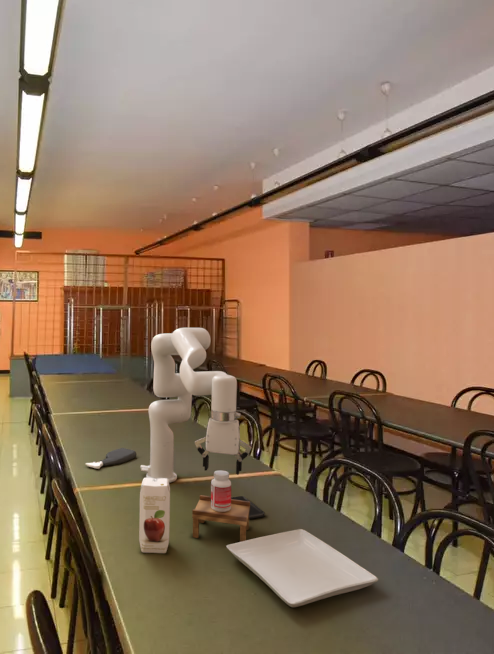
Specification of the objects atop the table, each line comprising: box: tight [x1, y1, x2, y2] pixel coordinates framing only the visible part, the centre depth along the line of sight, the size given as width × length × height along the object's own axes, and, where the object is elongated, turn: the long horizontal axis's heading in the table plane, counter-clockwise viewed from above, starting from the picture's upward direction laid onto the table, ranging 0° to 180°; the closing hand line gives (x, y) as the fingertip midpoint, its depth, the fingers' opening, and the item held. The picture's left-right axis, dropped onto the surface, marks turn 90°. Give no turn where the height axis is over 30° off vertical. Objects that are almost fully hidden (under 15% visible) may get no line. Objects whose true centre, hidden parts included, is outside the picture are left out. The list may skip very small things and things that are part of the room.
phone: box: [231, 495, 266, 520], centre depth 155 cm, size 8×1×15 cm
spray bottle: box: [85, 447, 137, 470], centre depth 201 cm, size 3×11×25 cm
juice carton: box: [138, 476, 171, 554], centre depth 128 cm, size 8×9×19 cm
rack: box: [191, 494, 251, 542], centre depth 138 cm, size 16×12×8 cm
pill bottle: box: [210, 469, 232, 512], centre depth 138 cm, size 6×6×11 cm
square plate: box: [225, 528, 379, 608], centre depth 116 cm, size 27×27×4 cm
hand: (222, 471), depth 138 cm, fingers open, 9 cm apart
